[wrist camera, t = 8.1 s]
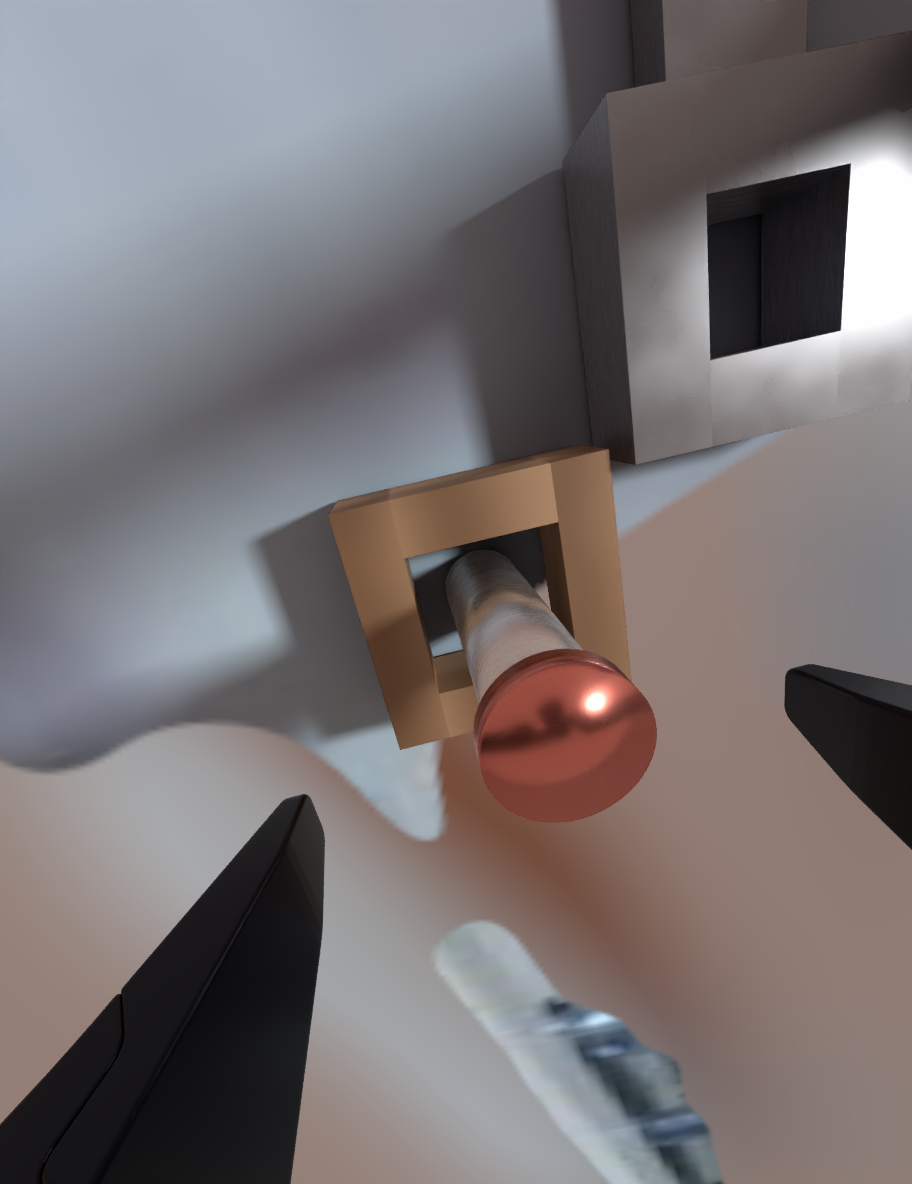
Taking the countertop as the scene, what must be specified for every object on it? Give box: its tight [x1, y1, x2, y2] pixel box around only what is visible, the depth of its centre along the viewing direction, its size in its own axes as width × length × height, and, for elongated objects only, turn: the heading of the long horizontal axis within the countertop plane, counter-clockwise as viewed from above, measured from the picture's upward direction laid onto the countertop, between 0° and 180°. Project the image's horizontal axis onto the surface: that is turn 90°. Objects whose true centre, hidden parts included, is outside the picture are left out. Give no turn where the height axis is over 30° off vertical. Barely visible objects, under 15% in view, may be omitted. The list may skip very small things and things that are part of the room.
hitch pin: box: [446, 549, 657, 822], centre depth 13 cm, size 3×3×9 cm
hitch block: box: [562, 0, 912, 465], centre depth 13 cm, size 8×13×3 cm, turn 12°
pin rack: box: [328, 445, 631, 750], centre depth 16 cm, size 8×8×2 cm
